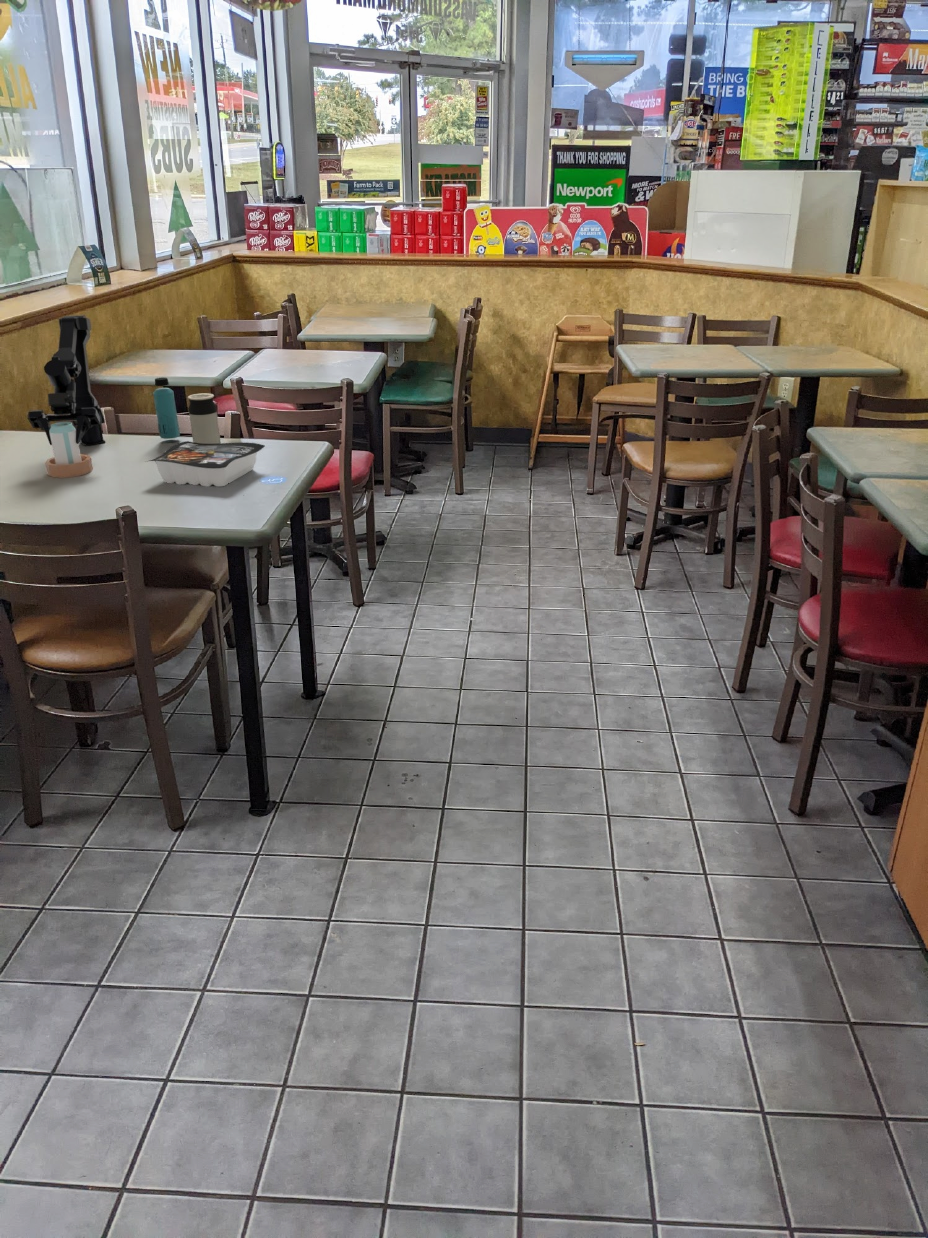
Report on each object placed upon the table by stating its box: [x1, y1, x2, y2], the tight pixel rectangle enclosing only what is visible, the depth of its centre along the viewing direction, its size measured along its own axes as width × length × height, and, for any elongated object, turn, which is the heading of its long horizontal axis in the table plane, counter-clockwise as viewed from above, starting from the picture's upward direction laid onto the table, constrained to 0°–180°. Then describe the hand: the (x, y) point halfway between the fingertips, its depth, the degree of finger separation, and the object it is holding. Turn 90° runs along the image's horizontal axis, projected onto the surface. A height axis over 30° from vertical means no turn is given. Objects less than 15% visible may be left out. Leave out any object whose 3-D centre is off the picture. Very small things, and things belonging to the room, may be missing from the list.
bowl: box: [44, 453, 94, 479], centre depth 283 cm, size 12×12×4 cm
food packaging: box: [144, 440, 266, 487], centre depth 274 cm, size 25×8×23 cm
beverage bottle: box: [152, 376, 181, 440], centre depth 309 cm, size 6×7×20 cm
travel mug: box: [187, 392, 222, 444], centre depth 292 cm, size 8×8×18 cm
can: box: [49, 421, 82, 465], centre depth 280 cm, size 7×7×12 cm
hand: (63, 443), depth 279 cm, fingers closed on can, 7 cm apart
